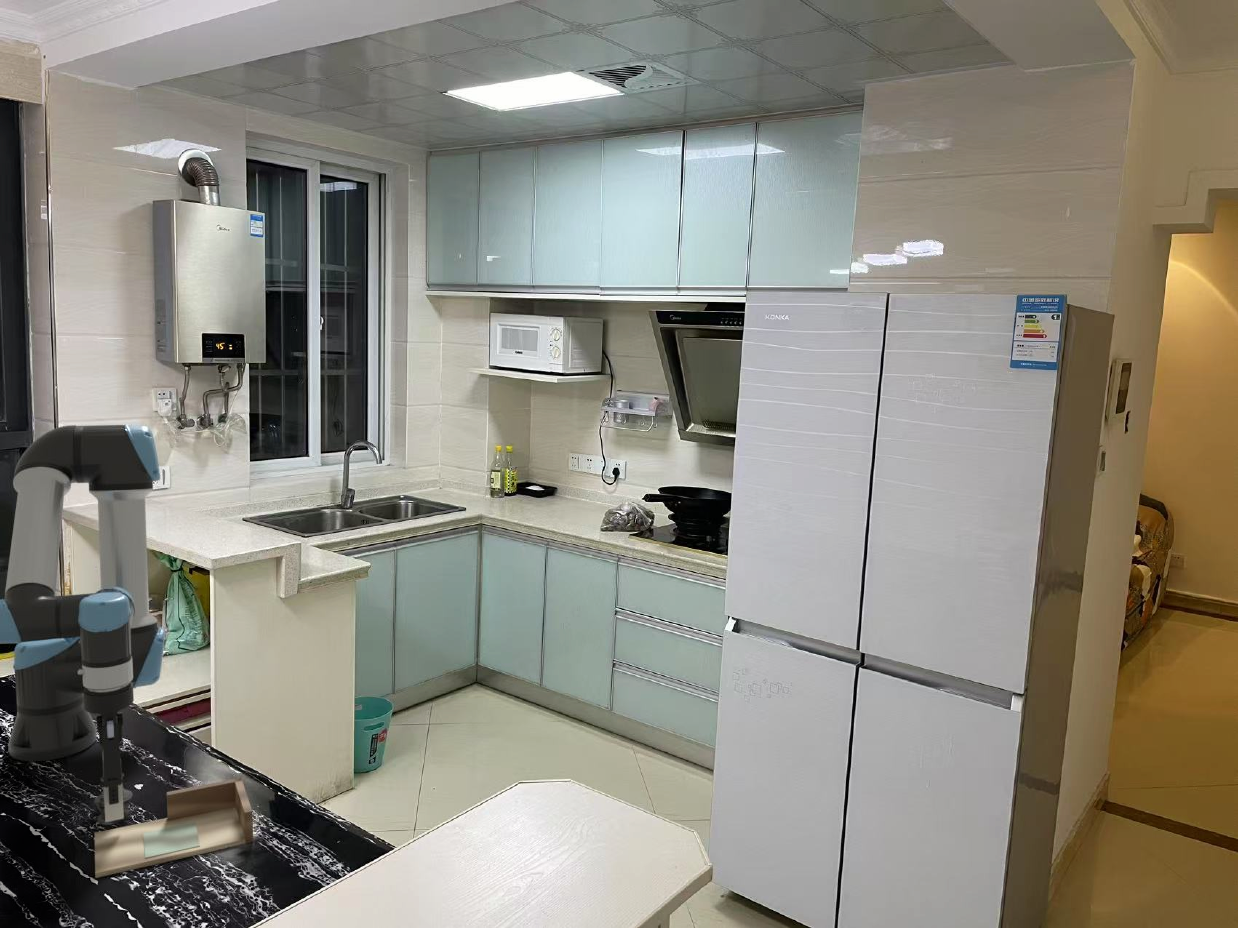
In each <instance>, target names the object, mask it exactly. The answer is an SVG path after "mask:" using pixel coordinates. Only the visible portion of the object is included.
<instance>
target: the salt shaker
mask: <svg viewBox="0 0 1238 928" xmlns="http://www.w3.org/2000/svg"><path fill="white" fill-rule="evenodd" d="M120 764H121V765H122V759H121V757H120ZM101 765H102V776H101V777H100V781H101V782H104V760H103V759H102V764H101ZM124 776H125V773H123V772H122V768H121V778H122V790H123V812H124V819H119V820H114V821H109V822H105V803H104V787H102V793H101V794H99V795H97V796H96V797H95V798H94V801H93V803H94V805H96V808H97V810H98V811H99V812H100V814H99V815H98V816H97V818H96V821H97V822H98V823H99V824H100V825H109V826H110V825H115V824H119V823H122V822H124V821H127V820H128V819H129V818H130V817H131V815H132V810H130V809H129V808H128V807H129V806H130V804H131V799H132V797H133V792H132V791H131V790H129V789H125V788H124V785H123V782H124V780H123V778H124ZM113 778H114V777H113Z"/></svg>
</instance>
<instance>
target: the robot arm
mask: <svg viewBox="0 0 1238 928" xmlns="http://www.w3.org/2000/svg"><path fill="white" fill-rule="evenodd" d="M152 431H153V430H151V429H150V427H148V426H145V425H138V424H127V423H125V424H110V425H109V424H108V425H106V424H101V425H100V424H99V425H73V424H72V425H71V424H70V425H63V426H59V427H56V428H54V429H52V430H49V431H46V432H45V433H44V434H43V435H41V436H39V437H38V438H37V439H35V440H34V441H33V442H32V443H31V444H30V445H29V446H28V447H27V448H26V449H25V451H24V452H23V453H22V455H21V457H20V458H19V460H18V462H17V464H16V467H15V470H14V474H13V480H12V485H13V488H14V490H15V491H16V492H17V499H16V508H15V512H14V513H15V514H14V523H13V527H12V528H13V529H12V537H11V545H10V552H9V560H8V567H7V568H8V569H7V575H6V582H5V583H6V584H5V589H4V590H5V591H4V598H2V599H0V644H16V646H15V648H14V651H13V652H14V653H13V655H14V656H13V657H14V658H13V665H12V668H13V670H14V681H15V682H14V683H15V696H16V711H17V714H16V717H15V721H14V723H13V727H12V730H11V733H10V737H9V739H8V752H9V753H8V754H9V756H10V757H12V758H13V759H15V760H19V761H24V762H43V761H51V760H57V759H61V758H65V757H68V756H72V755H75V754H78V753H79V752H82V751H84V750H86V749H88V748H90V747H91V746H92V745H93V744H94V743H95V742H96V740H97V733H98V741H99V742H98V743H99V746H100V747H101V748H102V761H103V760H104V782H103V781H101V782H99V783H98V784H99V788H103V787H104V803H105V822H109V821H114V820H119V819H124V812H123V790H122V780H123V778H121V769H122V763H121V764H120V758H121V748H120V747H123V746H124V740H123V728H124V716H123V711H122V710H126V709H127V708H129V707H130V706H132V705H133V703H134V701H135V700H134V689H136V688H140V687H146V686H152V685H155V684H156V683H158V681H159V680H160V679H161V672H162V664H163V657H164V656H163V655H164V647H165V638H166V629H165V627H162V626H158V618H156V617H155V616H154V615H153V614H151V613H150V607H149V606H150V604H149V599H150V598H149V578H148V576H149V575H148V572H149V571H148V547H147V546H148V545H147V544H148V543H147V520H146V519H147V517H146V498H147V496H148V495H150V493H151V492H152V491H153V490H154V482H157V481H160V480H161V472H160V464H159V458H158V452H157V448H156V443H155V442H156V441H155V438H154V434H153V432H152ZM76 483H77V484H88V493H90V494H91V495H92V496H93V497H94V498H95V499H96V500H97V511H98V513H97V515H98V517H97V518H98V542H99V543H98V544H99V545H98V546H99V568H100V569H99V572H100V574H99V575H100V589H99V590H98V591H96V592H93V593H92V592H91V593H81V594H80V593H79V594H69V595H68V594H67V595H56V592H57V591H56V588H57V577H58V568H59V567H58V566H59V557H60V544H61V534H62V522H63V510H64V502H65V501H64V500H65V496H66V495H67V494H68V493H69V492H70V490H71V488H72V484H76ZM91 714H94V715H95V714H97V715H96V724H95V722H94V719H93V716H92V715H91ZM113 777H114V778H113Z"/></svg>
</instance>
